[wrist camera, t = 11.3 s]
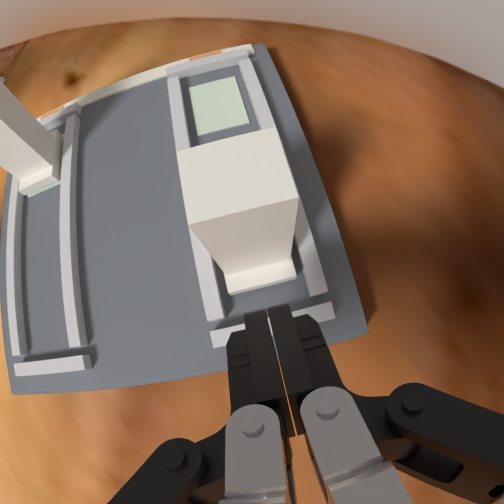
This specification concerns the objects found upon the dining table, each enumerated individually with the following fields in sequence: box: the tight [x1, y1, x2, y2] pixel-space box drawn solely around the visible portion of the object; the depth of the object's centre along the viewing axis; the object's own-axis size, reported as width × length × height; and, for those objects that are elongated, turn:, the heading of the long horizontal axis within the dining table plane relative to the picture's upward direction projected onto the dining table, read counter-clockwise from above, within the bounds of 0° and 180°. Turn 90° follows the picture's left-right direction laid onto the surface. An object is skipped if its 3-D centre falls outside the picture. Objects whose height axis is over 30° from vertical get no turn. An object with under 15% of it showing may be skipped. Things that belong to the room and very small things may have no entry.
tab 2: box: [176, 127, 299, 295], centre depth 12 cm, size 3×4×8 cm
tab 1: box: [0, 80, 62, 195], centre depth 15 cm, size 3×4×8 cm
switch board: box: [0, 43, 369, 395], centre depth 18 cm, size 22×21×2 cm
